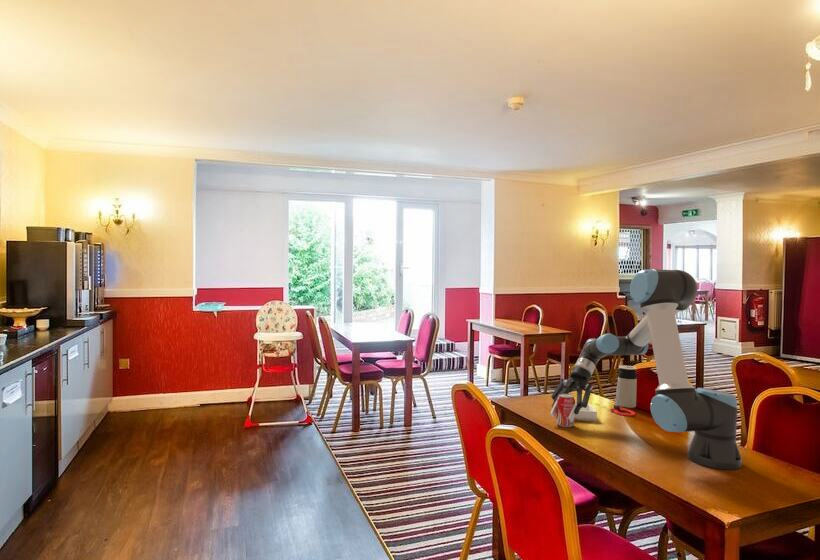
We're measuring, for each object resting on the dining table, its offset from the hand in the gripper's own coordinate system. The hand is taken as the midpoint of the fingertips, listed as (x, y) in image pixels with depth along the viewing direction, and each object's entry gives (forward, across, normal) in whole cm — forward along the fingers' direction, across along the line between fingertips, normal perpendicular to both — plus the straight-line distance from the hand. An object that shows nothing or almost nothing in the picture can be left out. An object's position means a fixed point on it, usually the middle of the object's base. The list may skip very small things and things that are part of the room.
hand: (560, 417), depth 197 cm
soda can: (0, 0, +5) cm, 5 cm away
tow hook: (-25, +8, +31) cm, 41 cm away
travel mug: (-35, +3, +40) cm, 53 cm away
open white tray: (-11, -3, +16) cm, 20 cm away
